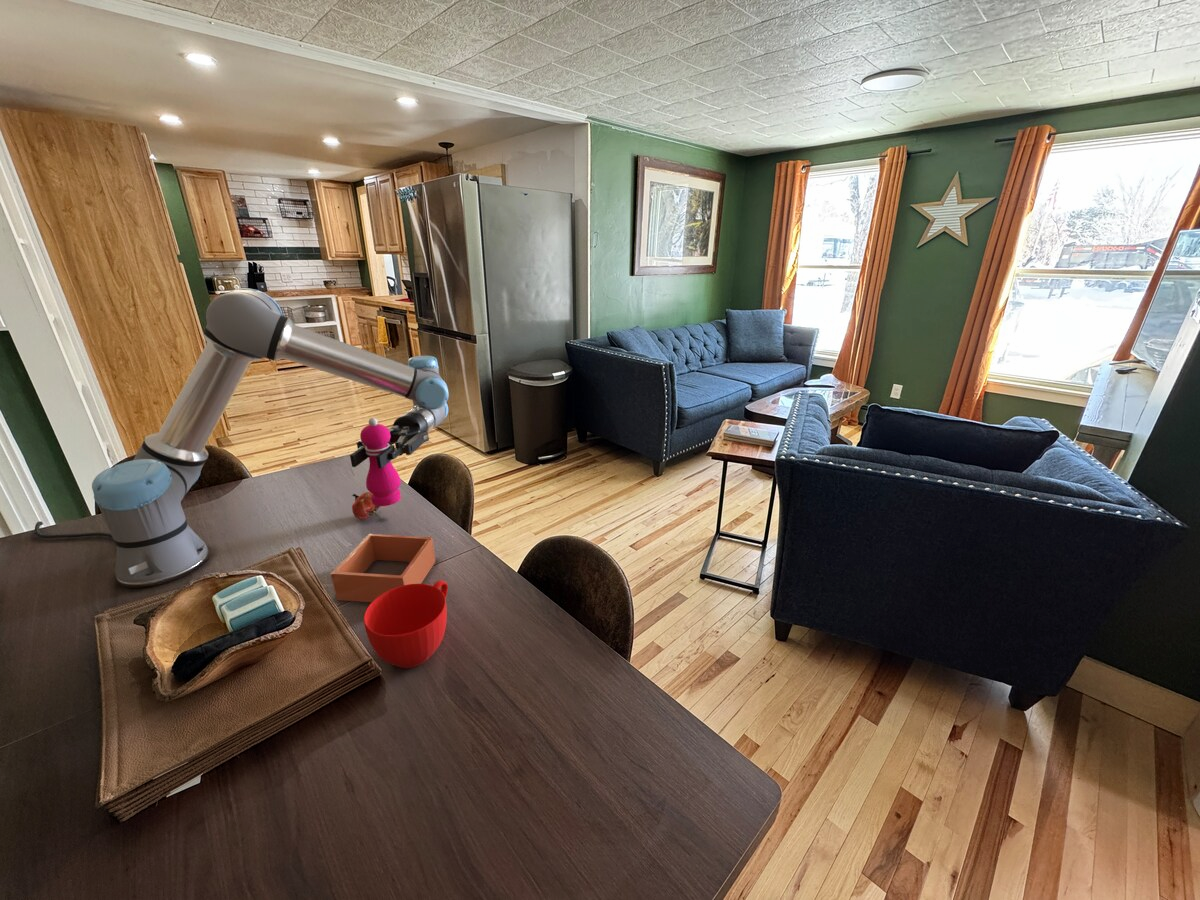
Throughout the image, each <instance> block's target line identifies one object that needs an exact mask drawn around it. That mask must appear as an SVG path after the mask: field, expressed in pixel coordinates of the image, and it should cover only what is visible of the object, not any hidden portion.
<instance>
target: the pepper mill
mask: <svg viewBox="0 0 1200 900" xmlns="http://www.w3.org/2000/svg"><path fill="white" fill-rule="evenodd" d="M388 428H389V427H387V426H386V425H385V424H381V423H378V419H377V418H376V417H370V418H369V420H368V425H366V426H364V427H363V428H362V429H361V431H360V434H359V437H360V439H361V442H362V443H363V444H364V445H366V447H365V450H366V454H367V455H368V456H369V457H368V459H369V465H368V466H369V468H368V472H367V474H366V478H365V485H366V490H367V492H371V493H372V494H371V501H372V503H373V504H374V505H376V506H380V507H387V506H392V505H394V504H397V503H398V502H400V501H401V499H402V494H401V490H400V489H399V488H400V487H401V484H402V480H401V477H400V474H399V473H398V471H397V470H396V468H395V467H394V464H393V463H392V460H391V461H390V462H389V463H387V464H386V465H385V466H384V467H383V468H378V465H377V459H376V456H377V455H379V454H380V453H381V452H383V451H384V450H385V449H387V448H388V447H389V446H390V445H389V444H388V442H389V441H390V438H391V435H390V431H389V429H388Z"/></svg>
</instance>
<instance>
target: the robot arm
mask: <svg viewBox="0 0 1200 900" xmlns="http://www.w3.org/2000/svg"><path fill="white" fill-rule="evenodd" d="M205 312H206V313H205V319H206V325H205V328H204V330H203V331H202V335H203V338H204V339H205V341H206V345H205V346H204V348H203V350H202V352H201V353H200V355H199V357H198V359H197V360H196V363H195V365H194V367H193V369H192V370H191V372H190V374H189V376H188V377H187V379H186V381H185V383H184V385H183V386H182V389H181V390H180V392H179V394H178V396H177V398H176V400H175V401H174V403H173V405H172V407H171V408H170V411H169V412H168V414H167V416H166V418H165V420H164V422H163V423H162V426H161V427H160V429H159V431H158V432H155V433H152V434H151V433H150V434H148V435H147V436H145V438H144V440H143V442H142V443H141V446H140V447H139V449H138V451H137V452H136V455H135V456H134V458H133V459H132V460H128V461H124V462H120V463H117V464H116V465H114V466H113V467H108V468H106V469H104V470H103V471H101V472H100V473H98V474H97V475H96V476H95V477H94V478H93V479H92V482H91V489H92V493H93V499H94V501H95V503H96V505H97V506H98V508H99V510H100V512H101V513H100V514H101V515H102V517H103V520H104V521H105V522H104V523H105V524H106V525H107V528H108V530H109V532H99V531H98V532H85V533H84V532H82V533H65V534H44V533H41V531H40V527H41V526H43V525H44V523H43V521H37V522H36V523H35V524H34V525H35V526H34V533H35V535H36V536H37V537H39V538H43V539H60V538H81V537H82V538H83V537H94V536H101V537H108V538H112V540H113V542H114V544H115V546H116V555H115V566H114V567H115V570H114V573H115V577H116V580H117V583H118V584H119V585H120V586H121V587H124V588H129V589H143V588H149V587H155V586H160V585H163V584H167V583H170V582H173V581H175V580H179V579H180V578H183V577H184V576H187V575H189V574H191V573H192V572H194V571H196V570H198V569H199V568H200V567H201V566H203V565H204V564H205V563H206V562H207V561H208V559H209V557H210V551H209V548H208V546H207V544H206V543H205V542H204V540H203V539H202V538H201V537H200V536H199V535H198V534H197V533H196V532H195V531H194V530H193V529H192V528H191V527H190V525H189V523H188V521H187V518H186V515H185V512H184V510H183V506H182V503H181V502H182V501H183V499H184V498H185V496H186V495H187V493H188V492H189V491H190V489H192V488H191V487H192V486H193V485H195V483H196V482H197V481H198V480H199V477H200V476H201V471H202V468H203V467H204V465H205V463H206V462H207V459H208V458H209V452H208V450H207V449H206V445H207V444H208V441H209V440H210V438H211V437H212V434H213V433H214V431H215V429H216V427H217V426H218V423H219V422H220V420H221V418H222V417H223V414H224V413H225V411H226V409H227V408H228V406H229V404H230V402H231V400H232V399H233V396H234V395H235V393H236V391H237V390H238V387H239V386H240V384H241V382H242V381H243V379H244V378H245V375H246V374H247V372H248V370H249V368H250V366H251V364H252V363H253V362H254V363H255V362H258V361H262V360H263V359H267V360H270V361H274V362H278V361H281V360H287V361H289V362H293V363H296V364H299V365H301V366H305V367H308V368H312V369H315V370H318V371H321V372H323V373H327V374H330V375H334V376H337V377H339V378H343V379H345V380H349V381H352V382H355V383H358V384H360V385H365V386H367V387H371V388H374V389H377V390H380V391H382V392H383V391H384V392H386V393H390V394H393V395H396V396H399V397H401V398H405V399H407V400H410V401H412V405H413V407H412V408H410V409H409V410H408V411H406V412H405V413H402V414H401V415H400V416H398V417H397V418H396V419H395V420H394V421H393V424H392V426H391V427H387V428H388V429H389V431H390V435H391V438H390V441H389V442H388V444H389V445H390V446H389V447H388V448H387V449H385V450H384V451H383V452H381V453H380V454H379V455H377V456H376V459H377V465H378V468H383V467H384V466H385V465H386V464H387V463H389V462H390V461H391V462H392V460H395V459H397V458H398V457H400V456H403V455H404V454H405V455H406V456H411V455H412V454H414V452H416V450H418V449H419V448H420V447H421V446H422V445H423V444H425V443H427V442H429V441H430V437H429V433H431V431H432V430H434V429H435V428H436V427H437V426H438V425H440V424H441V423H442V422H444V420H445V419H446V418H447V416H448V415H449V405H448V404H447V402H448V400H449V395H450V394H449V388H448V385H447V383H446V382H445V380H443V378H442V376H441V374H440V367H439V363H438V359H437V358H436V357H435V356H432V355H417V356H412V357H410V358H408V360H407V364H404V363H401V362H400V361H397V360H393V359H391V358H388V357H385V356H382V355H380V354H377V353H374V352H371V351H369V350H366V349H363V348H360V347H357V346H354V345H351V344H349V343H346V342H343V341H341V340H339V339H335V338H332V337H330V336H327V335H325V334H321V333H318V332H315V331H313V330H310V329H308V328H305V327H303V326H299V325H296V324H295V323H294V321H293V320H292V318H291V317H288V316H286V315H283V312H282V309H281V307H280V305H279V304H278V302H276V300H274V298H272V297H271V296H270V295H269V294H267V293H266V292H263V291H260V290H258V289H255V288H254V289H253V288H247V287H241V288H240V287H239V288H235V289H232V290H230V291H228V292H225V293H223V294H220V295H218V296H216V297H215V298H213V300H212V301H211V302H210V303H209V305H208V307H207V309H206V311H205ZM394 444H395V445H394ZM356 447H357V448H356V449H355V450H354V451H353V452H352V453H351V454H349V459H350V463H351V467H352V468H357V467H358V466H359V465H360V464H362V463H363V462H365V461H366V460H367V459H369V456H368V455H367V454H366V450H365V447H366V445H364V444H363V443H362V442H361V438H360V439H359V440H357V441H356ZM37 530H39V531H37ZM35 531H36V532H35Z"/></svg>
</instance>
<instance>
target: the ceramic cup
mask: <svg viewBox="0 0 1200 900" xmlns="http://www.w3.org/2000/svg"><path fill="white" fill-rule="evenodd" d="M448 589H449V585H448V583H447V582H446V581H445V580H438V581H436V582H435V583H434V584H433V585H431V584H427V583H421V584H408V585H403V586H399V587H396V588H394V589H391V590H389V591H387V592H385V593H383V594H382V595H380V596H379V597H377V598H376V599H375V600H374V601H373V602H370V603H369V605H368V607H367V608H366V610H365V611H364V615H363V625H364V630H365V632H366V636H367V639H368V641H369V643H370V646H371V647H372V649H373V651H374V652H375V654H376V655H377V656H378V657H379V658H380V659H382V660H383V661H384V662H385V663H387V664H389V665H392V666H395V667H399V668H403V669H411V668H415V667H417V666H421V665H422V664H424V663H425V662H427V661H428V660H429V659H430V658H431V656H433V654H434V653H435V652H436V651H437V650H438V648H439V646H440V645H441V643H442V641H443V639H444V636H445V632H446V627H447V617H448V615H447V609H448V608H447V597H448Z"/></svg>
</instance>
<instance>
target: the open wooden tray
mask: <svg viewBox="0 0 1200 900" xmlns="http://www.w3.org/2000/svg"><path fill="white" fill-rule="evenodd" d="M434 547H435V546H434V540H433V537H432V536H431V537H430V536H416V535H415V536H414V535H400V534H399V535H397V534H384V533H383V534H381V533H368V534H367V536H365V537H364V538H363V540H361V542H360V543H359V544H358V545H357V546H356V547H355V548H354V549H353V550H352V551H351V552H350V553H349V554H348V555H347V557H345V558H344V559H343V560H342V562H340V564H339V565H338V566H336V568H335V569H334V570H333V571H331V573H330V576H331V580H332V584H333V589H334V593H335V597H336V600H337V601H346V602H347V601H348V602H360V603H372V602H373V601H374V600H375V599H376V598H377V597H379V596H380V595H382V594H383V593H385V592H387V591H389V590H391V589H394V588H396V587H399V586H403V585H408V584H423V581H424V580H425V578H426V577H427V575H428V574H429V572H430V571H431V569H432V568H433V566H434V565H435V563H436V555H435V549H434ZM375 561H388V562H389V561H391V562H405V563H408V564H407V565H406V568H405V569H404V571H403V572H402V573H401V574H400V575H397V574H384V573H382V574H381V573H366V572H367V570H368V569H369V568H370V567H371V565H372V564H374V562H375Z"/></svg>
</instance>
